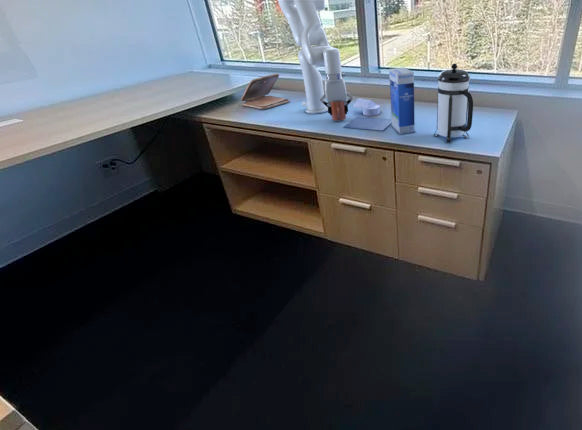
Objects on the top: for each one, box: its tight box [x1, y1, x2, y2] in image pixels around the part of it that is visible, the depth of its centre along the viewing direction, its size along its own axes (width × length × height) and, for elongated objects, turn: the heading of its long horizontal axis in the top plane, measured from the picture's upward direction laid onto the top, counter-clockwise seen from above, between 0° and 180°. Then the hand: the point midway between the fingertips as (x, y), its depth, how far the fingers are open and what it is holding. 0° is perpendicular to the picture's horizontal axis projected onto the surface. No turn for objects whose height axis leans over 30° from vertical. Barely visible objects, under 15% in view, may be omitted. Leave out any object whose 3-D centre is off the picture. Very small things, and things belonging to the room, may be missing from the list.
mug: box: [330, 101, 347, 122], centre depth 185 cm, size 10×7×9 cm
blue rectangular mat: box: [343, 116, 392, 132], centre depth 183 cm, size 20×16×1 cm
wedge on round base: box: [352, 97, 381, 117], centre depth 197 cm, size 9×7×13 cm
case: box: [240, 73, 290, 110], centre depth 217 cm, size 20×21×16 cm
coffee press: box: [433, 63, 474, 143], centre depth 155 cm, size 17×16×30 cm
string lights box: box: [388, 66, 416, 135], centre depth 168 cm, size 13×8×26 cm, turn 17°
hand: (338, 113), depth 187 cm, fingers closed on mug, 7 cm apart
